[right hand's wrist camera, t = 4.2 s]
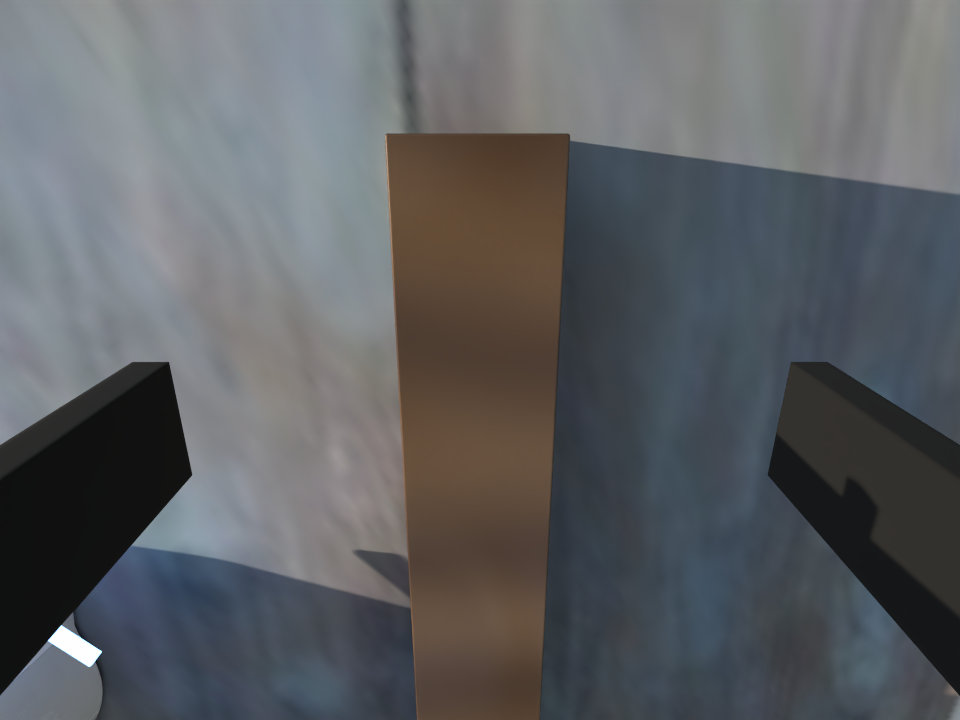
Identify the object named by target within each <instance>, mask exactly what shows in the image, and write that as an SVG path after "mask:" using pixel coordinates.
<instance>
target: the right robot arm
mask: <svg viewBox="0 0 960 720" xmlns="http://www.w3.org/2000/svg"><path fill="white" fill-rule="evenodd" d="M191 476H192V472H191V467H190V462H189V457H188V452H187V447H186V442H185V438H184V433H183V428H182V423H181V418H180V413H179V409H178V404H177V399H176V394H175V389H174V384H173V380H172V375H171V370H170V365H169V362H132V363H130V364H129V365H127V366H126V367H124V368H122V369H121V370H119V371H118V372H116V373H114V374H113V375H111V376H110V377H108V378H106V379H105V380H103V381H102V382H100V383H99V384H97V385H95V386H94V387H92V388H91V389H89V390H87V391H86V392H84V393H83V394H81V395H79V396H78V397H76V398H75V399H73V400H71V401H70V402H68V403H67V404H65V405H63V406H62V407H60V408H59V409H57V410H55V411H54V412H52V413H51V414H49V415H48V416H46V417H44V418H43V419H41V420H40V421H38V422H36V423H35V424H33V425H32V426H30V427H28V428H27V429H25V430H24V431H22V432H20V433H19V434H17V435H16V436H14V437H12V438H11V439H9V440H8V441H6V442H4V443H3V444H1V445H0V695H1V694H2V693H3V692H4V691H5V690H6V689H7V687H8V686H9V685H10V684H11V683H12V682H13V681H14V679H15V678H16V677H17V676H18V675H19V674H20V672H21V671H22V670H23V669H24V668H25V667H26V666H27V664H28V663H29V662H30V661H31V660H32V659H33V658H34V656H35V655H36V654H37V653H38V652H39V651H40V649H41V648H42V647H43V646H44V645H45V644H46V643H47V641H48V640H49V639H50V638H51V637H52V636H53V635H54V633H55V632H56V631H57V630H58V629H59V628H60V626H61V625H62V624H63V623H64V622H65V621H66V620H67V618H68V617H69V616H70V615H71V614H72V613H73V612H74V610H75V609H76V608H77V607H78V606H79V605H80V603H81V602H82V601H83V600H84V599H85V598H86V597H87V595H88V594H89V593H90V592H91V591H92V590H93V589H94V587H95V586H96V585H97V584H98V583H99V582H100V580H101V579H102V578H103V577H104V576H105V575H106V574H107V572H108V571H109V570H110V569H111V568H112V567H113V566H114V564H115V563H116V562H117V561H118V560H119V559H120V558H121V556H122V555H123V554H124V553H125V552H126V551H127V549H128V548H129V547H130V546H131V545H132V544H133V543H134V541H135V540H136V539H137V538H138V537H139V536H140V535H141V533H142V532H143V531H144V530H145V529H146V528H147V526H148V525H149V524H150V523H151V522H152V521H153V520H154V518H155V517H156V516H157V515H158V514H159V513H160V512H161V510H162V509H163V508H164V507H165V506H166V505H167V503H168V502H169V501H170V500H171V499H172V498H173V497H174V495H175V494H176V493H177V492H178V491H179V490H180V489H181V487H182V486H183V485H184V484H185V483H186V482H187V480H188V479H189V478H190V477H191ZM768 476H769V477H770V478H771V479H772V480H773V482H774V483H775V484H776V485H777V486H778V487H779V489H780V490H781V491H782V492H783V493H784V494H785V495H786V497H787V498H788V499H789V500H790V501H791V502H792V503H793V505H794V506H795V507H796V508H797V509H798V510H799V512H800V513H801V514H802V515H803V516H804V517H805V518H806V520H807V521H808V522H809V523H810V524H811V525H812V526H813V528H814V529H815V530H816V531H817V532H818V533H819V535H820V536H821V537H822V538H823V539H824V540H825V541H826V543H827V544H828V545H829V546H830V547H831V548H832V549H833V551H834V552H835V553H836V554H837V555H838V556H839V558H840V559H841V560H842V561H843V562H844V563H845V564H846V566H847V567H848V568H849V569H850V570H851V571H852V572H853V574H854V575H855V576H856V577H857V578H858V579H859V580H860V582H861V583H862V584H863V585H864V586H865V587H866V589H867V590H868V591H869V592H870V593H871V594H872V595H873V597H874V598H875V599H876V600H877V601H878V602H879V603H880V605H881V606H882V607H883V608H884V609H885V610H886V612H887V613H888V614H889V615H890V616H891V617H892V618H893V620H894V621H895V622H896V623H897V624H898V625H899V626H900V628H901V629H902V630H903V631H904V632H905V633H906V635H907V636H908V637H909V638H910V639H911V640H912V641H913V643H914V644H915V645H916V646H917V647H918V648H919V649H920V651H921V652H922V653H923V654H924V655H925V656H926V658H927V659H928V660H929V661H930V662H931V663H932V664H933V666H934V667H935V668H936V669H937V670H938V671H939V672H940V674H941V675H942V676H943V677H944V678H945V679H946V681H947V682H948V683H949V684H950V685H951V686H952V687H953V689H954V690H955V691H956V692H957V693H958V694H959V695H960V445H959V444H957V443H956V442H954V441H952V440H951V439H949V438H948V437H946V436H944V435H943V434H941V433H940V432H938V431H936V430H935V429H933V428H932V427H930V426H928V425H927V424H925V423H924V422H922V421H920V420H919V419H917V418H916V417H914V416H912V415H911V414H909V413H908V412H906V411H905V410H903V409H901V408H900V407H898V406H897V405H895V404H893V403H892V402H890V401H889V400H887V399H885V398H884V397H882V396H881V395H879V394H877V393H876V392H874V391H873V390H871V389H869V388H868V387H866V386H865V385H863V384H861V383H860V382H858V381H857V380H855V379H854V378H852V377H850V376H849V375H847V374H846V373H844V372H842V371H841V370H839V369H838V368H836V367H834V366H833V365H831V364H830V363H828V362H791V365H790V370H789V375H788V380H787V384H786V389H785V394H784V399H783V404H782V409H781V413H780V418H779V423H778V428H777V433H776V438H775V442H774V447H773V452H772V457H771V462H770V467H769V472H768Z"/></svg>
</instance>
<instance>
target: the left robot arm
mask: <svg viewBox="0 0 960 720" xmlns="http://www.w3.org/2000/svg"><path fill="white" fill-rule="evenodd" d="M101 652H102V651H100V650H99V649H97V648H95V647H94V646H92V645H91V644H89V643H88V642H86V641H85V640H83V639H81V637H80V635H79V633H78V632H77V629H76V627H75V623H74V614H73V613H72V614H71V615H70V616H69V617H68V618H67V620H66V621H65V622H64V623H63V624H62V625H61V626H60V628H59V629H58V630H57V631H56V632H55V633H54V635H53V636H52V637H51V638H50V639H49V640H48V641H47V643H46V644H45V645H44V646H43V647H42V648H41V649H40V651H39V652H38V653H37V654H36V655H35V656H34V658H33V659H32V660H31V661H30V662H29V663H28V664H27V666H26V667H25V668H24V669H23V670H22V671H21V672H20V674H19V675H18V676H17V677H16V678H15V679H14V681H13V682H12V683H11V684H10V685H9V686H8V687H7V689H6V690H5V691H4V692H3V693H2V694H1V695H0V720H95V719H96V717H97V715H98V713H99V711H100V708H101V704H102V697H103V688H102V680H101V676H100V672H99V669H98V667H97V664H96V662H95V660H96V659H97V658H98V656H99V655H100V654H101Z"/></svg>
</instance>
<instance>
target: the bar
mask: <svg viewBox="0 0 960 720" xmlns="http://www.w3.org/2000/svg"><path fill="white" fill-rule="evenodd" d="M385 146H386V164H387V182H388V201H389V219H390V237H391V255H392V273H393V291H394V310H395V328H396V346H397V364H398V382H399V400H400V419H401V437H402V455H403V473H404V491H405V509H406V528H407V546H408V564H409V582H410V600H411V619H412V637H413V655H414V673H415V691H416V709H417V720H540V706H541V687H542V668H543V648H544V629H545V610H546V590H547V571H548V552H549V533H550V513H551V494H552V475H553V455H554V436H555V417H556V398H557V378H558V359H559V340H560V320H561V301H562V282H563V263H564V243H565V224H566V205H567V185H568V166H569V147H570V135H569V134H386V135H385Z"/></svg>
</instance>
